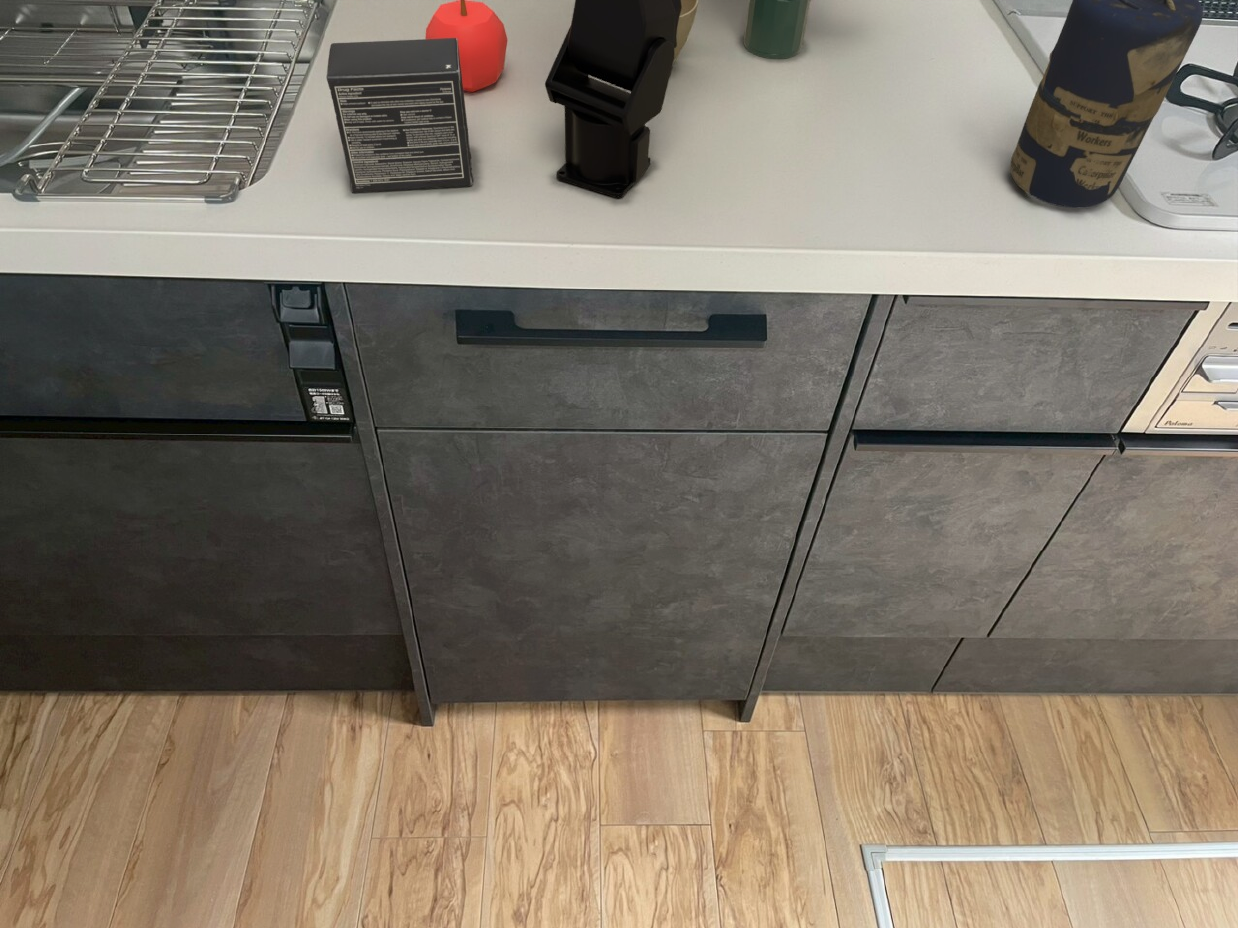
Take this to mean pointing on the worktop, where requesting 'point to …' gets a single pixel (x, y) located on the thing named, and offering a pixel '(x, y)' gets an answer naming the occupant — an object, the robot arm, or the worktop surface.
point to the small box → (401, 113)
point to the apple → (472, 40)
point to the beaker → (776, 27)
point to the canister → (1100, 96)
